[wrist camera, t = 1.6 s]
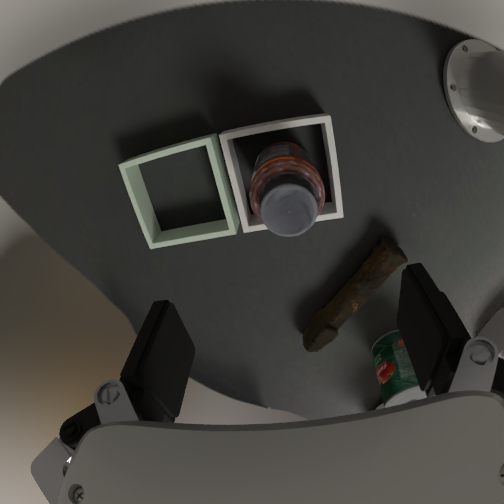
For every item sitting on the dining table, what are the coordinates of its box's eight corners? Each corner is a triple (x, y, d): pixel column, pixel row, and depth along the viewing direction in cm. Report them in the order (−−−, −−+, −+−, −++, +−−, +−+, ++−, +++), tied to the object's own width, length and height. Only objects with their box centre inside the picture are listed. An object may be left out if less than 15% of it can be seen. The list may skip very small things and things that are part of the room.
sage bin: (216, 132, 28) (210, 137, 25) (239, 221, 33) (236, 234, 30) (131, 157, 29) (118, 164, 27) (158, 236, 34) (150, 249, 32)
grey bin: (324, 113, 26) (330, 115, 23) (337, 206, 31) (343, 217, 28) (224, 131, 28) (218, 135, 25) (246, 220, 33) (244, 232, 30)
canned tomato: (364, 343, 42) (377, 402, 32) (409, 321, 39) (431, 378, 30) (379, 366, 45) (391, 419, 35) (419, 346, 42) (437, 398, 33)
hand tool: (380, 228, 32) (393, 249, 28) (401, 245, 33) (415, 266, 29) (288, 326, 41) (288, 351, 37) (309, 336, 42) (311, 360, 38)
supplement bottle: (243, 169, 30) (226, 212, 20) (282, 128, 27) (286, 149, 17) (285, 205, 31) (288, 263, 22) (324, 168, 29) (349, 210, 19)
